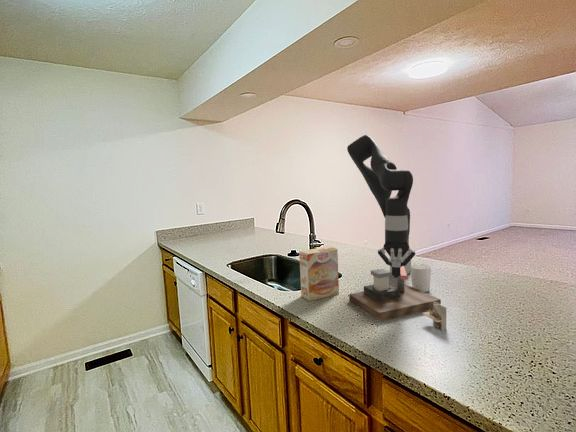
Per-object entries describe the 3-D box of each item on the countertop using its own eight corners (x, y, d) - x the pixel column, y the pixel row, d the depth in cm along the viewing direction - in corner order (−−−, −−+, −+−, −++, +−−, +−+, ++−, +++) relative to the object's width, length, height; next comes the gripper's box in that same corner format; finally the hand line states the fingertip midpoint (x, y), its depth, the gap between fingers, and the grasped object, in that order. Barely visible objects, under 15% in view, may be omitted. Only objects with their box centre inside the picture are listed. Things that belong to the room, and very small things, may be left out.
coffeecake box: (309, 301, 131) (307, 254, 129) (300, 296, 138) (298, 250, 136) (339, 293, 138) (338, 248, 136) (330, 289, 145) (328, 245, 142)
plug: (383, 292, 129) (382, 268, 128) (391, 296, 124) (391, 272, 123) (371, 294, 127) (370, 270, 126) (379, 299, 122) (379, 274, 121)
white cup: (431, 287, 140) (431, 264, 139) (430, 293, 133) (430, 269, 132) (411, 285, 143) (411, 263, 142) (410, 291, 136) (409, 268, 135)
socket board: (404, 290, 138) (403, 276, 137) (440, 307, 119) (440, 291, 118) (349, 301, 129) (348, 286, 128) (379, 321, 110) (379, 304, 110)
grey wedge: (437, 332, 101) (437, 309, 100) (422, 323, 108) (422, 301, 107) (446, 330, 102) (446, 307, 101) (431, 321, 109) (431, 300, 108)
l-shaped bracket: (397, 289, 130) (396, 262, 129) (404, 289, 129) (403, 262, 128) (400, 306, 114) (400, 275, 112) (408, 306, 113) (408, 275, 112)
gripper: (375, 229, 112) (375, 278, 113) (417, 230, 107) (416, 281, 109) (377, 226, 119) (377, 272, 121) (416, 226, 114) (416, 275, 116)
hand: (396, 277), depth 115 cm, fingers closed
